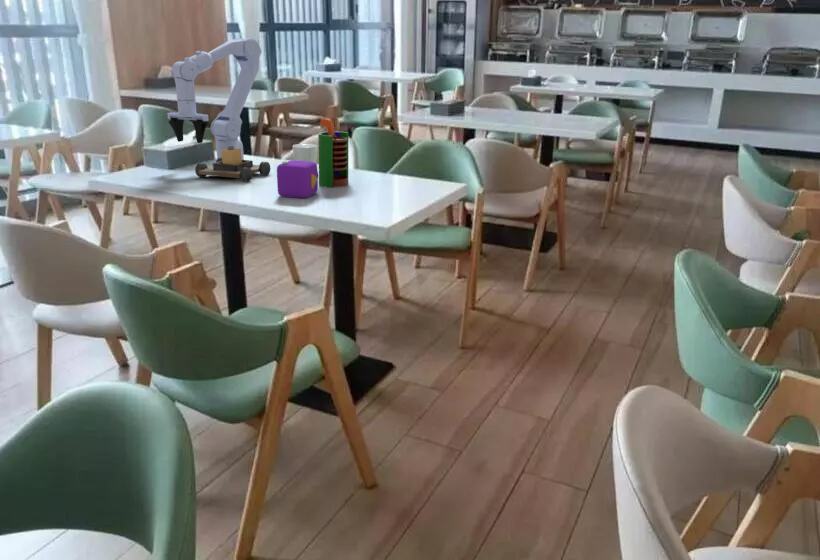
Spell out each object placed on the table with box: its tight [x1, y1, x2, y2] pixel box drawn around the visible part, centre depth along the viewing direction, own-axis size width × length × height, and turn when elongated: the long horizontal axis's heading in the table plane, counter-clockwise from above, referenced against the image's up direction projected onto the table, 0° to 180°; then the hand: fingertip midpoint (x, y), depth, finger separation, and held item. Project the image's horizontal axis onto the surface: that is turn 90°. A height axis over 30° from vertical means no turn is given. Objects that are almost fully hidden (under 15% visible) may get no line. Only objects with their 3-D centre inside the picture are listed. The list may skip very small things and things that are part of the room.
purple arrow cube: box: [276, 159, 319, 199], centre depth 198 cm, size 11×14×10 cm
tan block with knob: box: [221, 146, 242, 165], centre depth 219 cm, size 5×4×7 cm
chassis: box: [194, 158, 271, 183], centre depth 221 cm, size 16×18×5 cm
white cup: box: [292, 143, 318, 165], centre depth 222 cm, size 8×8×10 cm
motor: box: [317, 118, 349, 189], centre depth 209 cm, size 10×9×20 cm
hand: (190, 142), depth 227 cm, fingers open, 7 cm apart
